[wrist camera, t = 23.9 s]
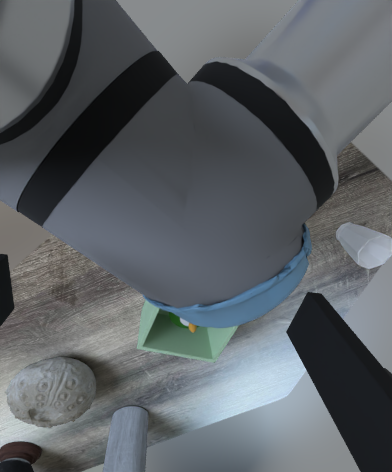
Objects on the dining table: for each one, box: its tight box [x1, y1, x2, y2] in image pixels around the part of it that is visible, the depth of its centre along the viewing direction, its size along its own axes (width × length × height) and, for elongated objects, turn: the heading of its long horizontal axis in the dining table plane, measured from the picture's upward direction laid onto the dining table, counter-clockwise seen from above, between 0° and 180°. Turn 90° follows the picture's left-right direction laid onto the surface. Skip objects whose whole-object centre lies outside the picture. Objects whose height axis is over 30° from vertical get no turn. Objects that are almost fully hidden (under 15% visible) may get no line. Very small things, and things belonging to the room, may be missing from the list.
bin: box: [137, 300, 239, 363], centre depth 47 cm, size 16×16×10 cm
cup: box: [336, 222, 392, 269], centre depth 45 cm, size 7×10×8 cm
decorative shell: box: [5, 357, 96, 428], centre depth 54 cm, size 18×18×10 cm
